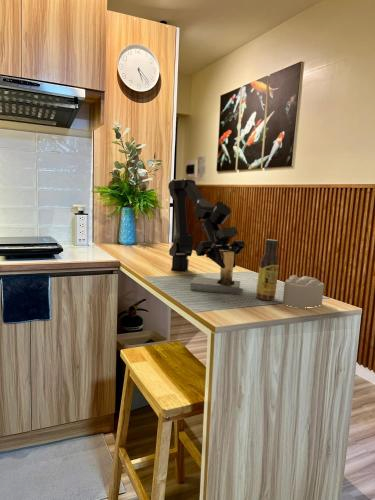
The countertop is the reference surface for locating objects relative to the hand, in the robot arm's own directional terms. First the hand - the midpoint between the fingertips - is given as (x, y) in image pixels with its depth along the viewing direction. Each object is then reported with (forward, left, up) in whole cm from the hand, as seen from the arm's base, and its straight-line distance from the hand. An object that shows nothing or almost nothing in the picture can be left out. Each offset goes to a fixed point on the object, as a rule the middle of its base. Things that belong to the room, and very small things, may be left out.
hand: (229, 267), depth 131 cm
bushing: (-1, +1, -7) cm, 7 cm away
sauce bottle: (+13, -6, -8) cm, 17 cm away
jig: (-4, 0, -8) cm, 9 cm away
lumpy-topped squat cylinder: (+24, -8, -9) cm, 27 cm away
